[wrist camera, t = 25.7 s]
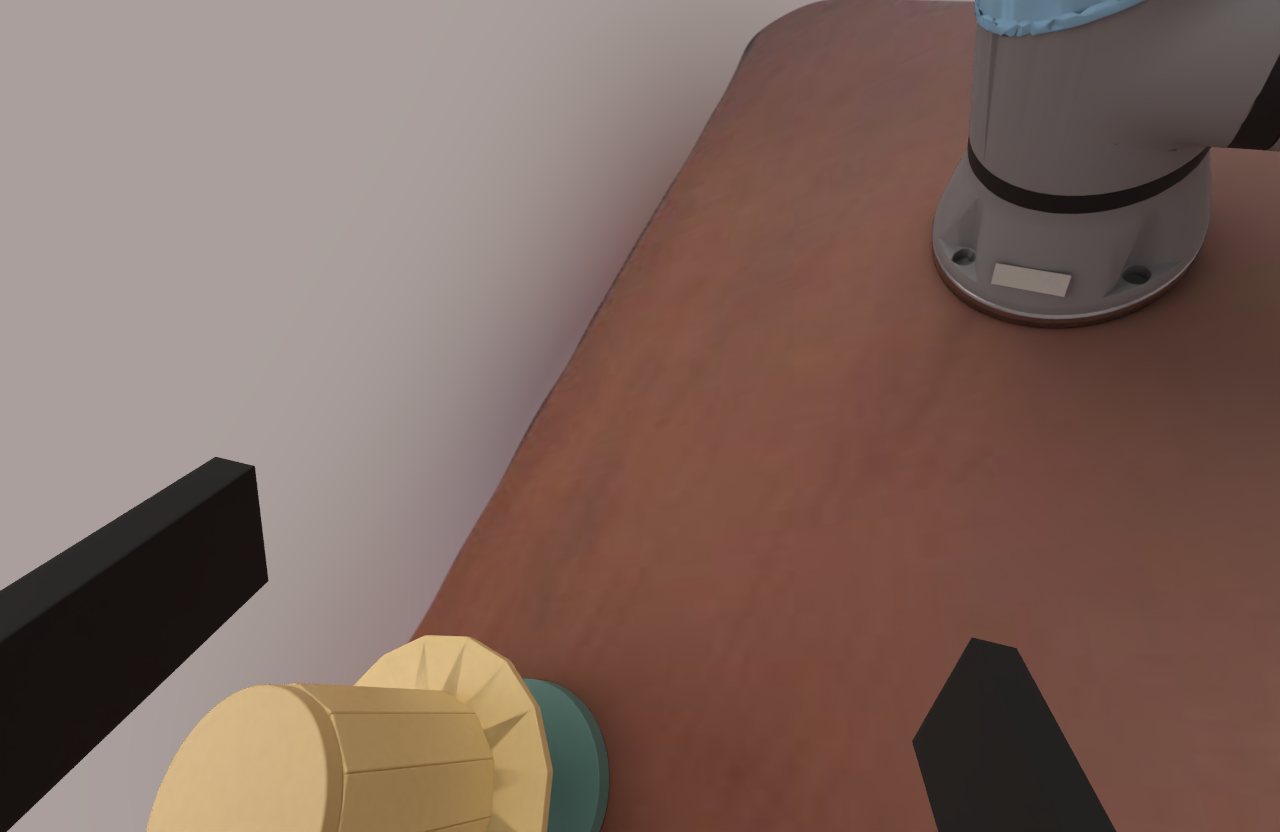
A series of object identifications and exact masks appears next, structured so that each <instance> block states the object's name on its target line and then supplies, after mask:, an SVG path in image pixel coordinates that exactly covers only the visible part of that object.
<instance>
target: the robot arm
mask: <svg viewBox="0 0 1280 832" xmlns="http://www.w3.org/2000/svg"><path fill="white" fill-rule="evenodd" d="M975 16H976V21H977V29H976V42H975V56H974V69H973V82H972V96H971V109H970V123H969V138H968V148H967V149H966V151H965V153H964V155H963V157H962V159H961V161H960V163H959V164H958V166H957V168H956V170H955V172H954V174H953V176H952V178H951V179H950V181H949V183H948V185H947V187H946V189H945V191H944V193H943V194H942V196H941V199H940V201H939V203H938V207H937V210H936V214H935V217H934V221H933V228H932V252H933V258H934V262H935V265H936V268H937V270H938V272H939V274H940V276H941V278H942V279H943V281H944V282H945V283H946V285H947V286H948V287H949V288H950V289H951V290H952V291H953V293H954V294H956V295H957V296H958V297H959V298H960V299H961V300H963V301H964V302H966V303H967V304H969V305H970V306H972V307H973V308H975V309H977V310H979V311H981V312H983V313H985V314H987V315H990V316H992V317H995V318H998V319H1001V320H1004V321H1008V322H1011V323H1015V324H1021V325H1026V326H1035V327H1049V328H1062V327H1077V326H1085V325H1091V324H1097V323H1101V322H1105V321H1109V320H1112V319H1115V318H1118V317H1121V316H1124V315H1127V314H1129V313H1132V312H1134V311H1136V310H1138V309H1140V308H1142V307H1144V306H1146V305H1148V304H1150V303H1151V302H1153V301H1155V300H1156V299H1158V298H1159V297H1161V296H1162V295H1163V294H1165V293H1166V292H1167V291H1168V290H1170V289H1171V288H1172V287H1173V286H1174V285H1175V284H1176V283H1177V282H1178V281H1179V280H1180V279H1181V278H1182V276H1183V275H1184V274H1185V273H1186V271H1187V270H1188V268H1189V267H1190V265H1191V264H1192V262H1193V260H1194V259H1195V257H1196V255H1197V254H1198V252H1199V250H1200V248H1201V246H1202V244H1203V242H1204V240H1205V237H1206V233H1207V230H1208V225H1209V222H1210V217H1211V174H1210V148H1211V147H1221V148H1241V149H1256V150H1268V151H1280V0H975ZM267 582H268V574H267V565H266V557H265V550H264V540H263V532H262V523H261V516H260V507H259V499H258V490H257V482H256V474H255V466H252V465H248V464H243V463H239V462H235V461H231V460H227V459H222V458H218V457H215V458H213V459H211V460H210V461H208V462H206V463H205V464H203V465H202V466H200V467H199V468H197V469H195V470H194V471H192V472H190V473H189V474H187V475H186V476H184V477H182V478H181V479H179V480H177V481H176V482H174V483H173V484H171V485H169V486H168V487H166V488H165V489H163V490H161V491H160V492H158V493H157V494H155V495H153V496H152V497H151V498H149V499H147V500H145V501H144V502H143V503H141V504H139V505H137V506H136V507H134V508H133V509H131V510H129V511H128V512H126V513H125V514H123V515H121V516H120V517H118V518H117V519H115V520H114V521H112V522H110V523H109V524H107V525H106V526H104V527H102V528H100V529H99V530H97V531H96V532H94V533H92V534H91V535H89V536H88V537H86V538H84V539H83V540H81V541H80V542H78V543H76V544H75V545H73V546H72V547H70V548H68V549H67V550H65V551H64V552H62V553H60V554H59V555H57V556H55V557H54V558H52V559H51V560H49V561H47V562H46V563H44V564H43V565H41V566H39V567H38V568H36V569H35V570H33V571H31V572H30V573H28V574H27V575H25V576H23V577H22V578H20V579H19V580H17V581H15V582H14V583H12V584H11V585H9V586H7V587H6V588H4V589H3V590H1V591H0V832H7V831H8V830H9V829H10V828H11V827H12V826H13V825H14V824H15V823H16V822H17V821H18V820H19V819H20V818H21V817H22V816H23V815H24V814H25V813H27V812H28V811H29V810H30V809H31V808H32V807H33V806H34V805H35V804H36V803H37V802H38V801H39V800H40V799H41V798H42V797H43V796H44V795H45V794H46V793H48V792H49V791H50V790H51V789H52V788H53V787H54V786H55V785H56V784H57V783H58V782H59V781H60V780H61V779H62V778H63V777H64V776H65V775H66V774H67V773H68V772H69V771H70V770H71V769H72V768H74V767H75V766H76V765H77V764H78V763H79V762H80V761H81V760H82V759H83V758H84V757H85V756H86V755H87V754H88V753H89V752H90V751H91V750H92V749H93V748H94V747H95V746H96V745H97V744H99V743H100V742H101V741H102V740H103V739H104V738H105V737H106V736H107V735H108V734H109V733H110V732H111V731H112V730H113V729H114V728H115V727H116V726H117V725H118V724H120V722H122V720H123V719H125V718H126V717H127V716H128V715H129V714H130V713H131V712H132V711H133V710H134V709H135V708H136V707H137V706H138V705H139V704H140V703H141V702H142V701H143V700H144V699H146V698H147V697H148V696H149V695H150V694H151V693H152V692H153V691H154V690H155V689H156V688H157V687H158V686H159V685H160V684H161V683H162V682H163V681H164V680H165V679H166V678H167V677H169V676H170V675H171V674H172V673H173V672H174V671H175V670H176V669H177V668H178V667H179V666H180V665H181V664H182V663H183V662H184V661H185V660H186V659H187V658H188V657H189V656H190V655H191V654H193V653H194V652H195V650H197V649H198V648H199V647H200V646H201V645H202V644H203V643H204V642H205V641H206V640H207V639H208V638H209V637H210V636H211V635H212V634H213V633H214V632H215V631H216V630H218V629H219V627H221V626H222V625H223V624H224V623H225V622H226V621H227V620H228V619H229V618H230V617H231V616H232V615H233V614H234V613H235V612H236V611H237V610H238V609H239V608H241V607H242V606H243V605H244V604H245V603H246V602H247V601H248V600H249V599H250V598H251V597H252V596H253V595H254V594H255V593H256V592H257V591H258V590H259V589H260V588H261V587H262V586H263V585H264V584H266V583H267ZM912 742H913V746H914V749H915V753H916V756H917V759H918V763H919V766H920V770H921V773H922V777H923V780H924V784H925V787H926V791H927V794H928V797H929V801H930V804H931V808H932V811H933V815H934V818H935V822H936V825H937V829H938V832H1116V830H1115V829H1114V827H1113V825H1112V823H1111V821H1110V819H1109V818H1108V816H1107V814H1106V812H1105V810H1104V808H1103V806H1102V805H1101V803H1100V801H1099V799H1098V797H1097V795H1096V794H1095V792H1094V790H1093V788H1092V786H1091V784H1090V783H1089V781H1088V779H1087V777H1086V775H1085V773H1084V772H1083V770H1082V768H1081V766H1080V764H1079V762H1078V760H1077V759H1076V757H1075V755H1074V753H1073V751H1072V749H1071V748H1070V746H1069V744H1068V742H1067V740H1066V738H1065V737H1064V735H1063V733H1062V731H1061V729H1060V727H1059V726H1058V724H1057V722H1056V720H1055V718H1054V716H1053V714H1052V713H1051V711H1050V709H1049V707H1048V705H1047V703H1046V702H1045V700H1044V698H1043V696H1042V694H1041V692H1040V691H1039V689H1038V687H1037V685H1036V683H1035V681H1034V680H1033V678H1032V676H1031V674H1030V672H1029V670H1028V668H1027V667H1026V665H1025V663H1024V661H1023V659H1022V657H1021V656H1020V654H1019V652H1018V650H1017V648H1013V647H1009V646H1005V645H1001V644H997V643H992V642H988V641H984V640H980V639H976V638H971V640H970V642H969V643H968V645H967V647H966V649H965V650H964V652H963V654H962V656H961V657H960V659H959V661H958V662H957V664H956V666H955V668H954V669H953V671H952V673H951V675H950V676H949V678H948V680H947V682H946V683H945V685H944V687H943V689H942V690H941V692H940V694H939V695H938V697H937V699H936V701H935V702H934V704H933V706H932V708H931V709H930V711H929V713H928V715H927V716H926V718H925V720H924V722H923V723H922V725H921V727H920V728H919V730H918V732H917V734H916V735H915V737H914V739H913V741H912Z"/></svg>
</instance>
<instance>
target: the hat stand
mask: <svg viewBox="0 0 1280 832" xmlns="http://www.w3.org/2000/svg"><path fill="white" fill-rule="evenodd" d="M522 679H523V681H524V683H525V684H526V686H527V687H528V689H529V690H530V692H531V694H532V695H533V697H534V698H535V700H536V702H537V703H538V705H539V707H540V709H541V714H542V719H543V724H544V729H545V734H546V739H547V743H548V748H549V753H550V758H551V763H552V768H553V777H552V787H551V797H550V807H549V816H548V826H547V832H600V829H601V826H602V823H603V820H604V816H605V812H606V808H607V802H608V794H609V764H608V757H607V752H606V747H605V743H604V740H603V737H602V734H601V731H600V729H599V727H598V724H597V722H596V720H595V719H594V717H593V715H592V714H591V712H590V711H589V709H588V708H587V707H586V705H585V704H584V703H583V702H582V701H581V700H580V699H579V698H578V697H577V696H576V695H575V694H574V693H572V692H571V691H569V690H568V689H567V688H565V687H563V686H561V685H559V684H556V683H553V682H550V681H545V680H538V679H530V678H522Z"/></svg>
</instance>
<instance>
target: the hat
mask: <svg viewBox="0 0 1280 832" xmlns="http://www.w3.org/2000/svg"><path fill="white" fill-rule="evenodd" d="M552 777H553V768H552V763H551V758H550V753H549V748H548V743H547V739H546V734H545V729H544V724H543V719H542V714H541V709H540V707H539V705H538V703H537V702H536V700H535V698H534V697H533V695H532V694H531V692H530V690H529V689H528V687H527V686H526V684H525V683H524V681H523V679H522V678H521V676H520V675H519V673H518V671H517V670H516V668H515V667H514V665H513V663H512V662H511V661H510V660H508V659H507V658H505V657H504V656H502V655H500V654H499V653H497V652H495V651H494V650H492V649H491V648H489V647H487V646H486V645H484V644H482V643H481V642H479V641H478V640H476V639H474V638H472V637H467V636H431V635H425V636H423V637H421V638H418V639H416V640H414V641H412V642H410V643H408V644H406V645H404V646H402V647H399V648H398V649H396V650H393V651H391V652H389V653H387V654H385V655H383V656H382V657H381V658H380V659H379V660H378V661H377V662H376V663H375V664H374V665H373V666H372V667H371V668H370V669H369V670H368V671H367V672H366V673H365V674H364V675H363V676H362V677H361V679H360V680H359V681H358V682H357V683H356V684H355V685H354V686H345V685H325V684H305V683H293V684H286V685H271V684H269V685H257V686H252V687H248V688H246V689H243V690H241V691H238V692H236V693H234V694H233V695H231V696H229V697H228V698H226V699H224V700H223V701H222V702H220V703H219V704H218V705H216V706H215V707H214V708H213V709H212V710H211V711H210V712H209V713H208V714H207V715H205V717H204V718H203V719H202V720H201V721H200V722H199V723H198V724H197V725H196V727H195V728H194V729H193V730H192V732H191V733H190V734H189V736H188V737H187V738H186V740H185V741H184V743H183V744H182V746H181V747H180V749H179V751H178V752H177V754H176V755H175V757H174V759H173V761H172V763H171V765H170V767H169V768H168V770H167V773H166V775H165V777H164V779H163V781H162V784H161V786H160V789H159V791H158V794H157V797H156V799H155V802H154V805H153V809H152V812H151V815H150V818H149V822H148V826H147V831H146V832H547V826H548V816H549V807H550V797H551V787H552Z"/></svg>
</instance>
